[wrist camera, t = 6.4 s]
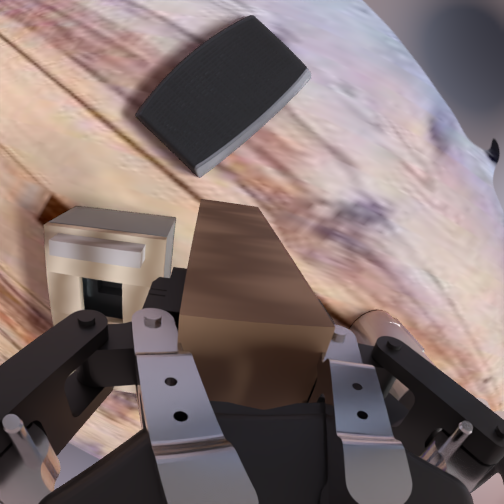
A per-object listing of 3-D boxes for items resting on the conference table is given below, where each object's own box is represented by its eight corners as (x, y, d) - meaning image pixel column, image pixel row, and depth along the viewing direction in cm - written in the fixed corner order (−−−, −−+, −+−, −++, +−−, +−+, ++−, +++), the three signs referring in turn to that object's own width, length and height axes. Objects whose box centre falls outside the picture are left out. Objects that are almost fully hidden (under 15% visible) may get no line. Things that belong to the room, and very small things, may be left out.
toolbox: (176, 217, 39) (167, 236, 31) (166, 355, 46) (160, 390, 38) (76, 206, 36) (49, 221, 29) (83, 341, 43) (67, 373, 36)
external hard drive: (314, 82, 35) (324, 77, 31) (203, 181, 38) (201, 186, 34) (245, 13, 31) (249, 1, 27) (131, 112, 34) (122, 109, 30)
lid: (167, 237, 31) (161, 248, 28) (160, 392, 38) (157, 409, 35) (47, 222, 28) (33, 231, 25) (66, 374, 35) (59, 390, 32)
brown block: (257, 207, 22) (335, 326, 8) (248, 259, 23) (297, 423, 9) (201, 199, 21) (179, 314, 7) (194, 253, 22) (174, 419, 8)
